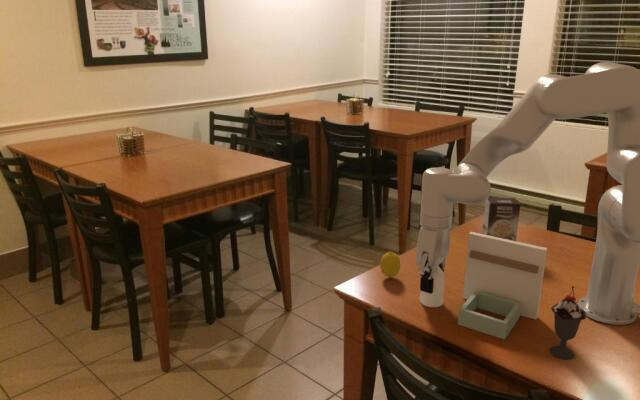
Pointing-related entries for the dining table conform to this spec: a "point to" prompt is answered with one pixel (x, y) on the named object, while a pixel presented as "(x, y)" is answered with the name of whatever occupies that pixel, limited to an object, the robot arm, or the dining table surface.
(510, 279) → the wall holder
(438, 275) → the white bottle
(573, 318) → the sundae
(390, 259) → the lemon
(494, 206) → the coffee box
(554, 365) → the dining table surface
